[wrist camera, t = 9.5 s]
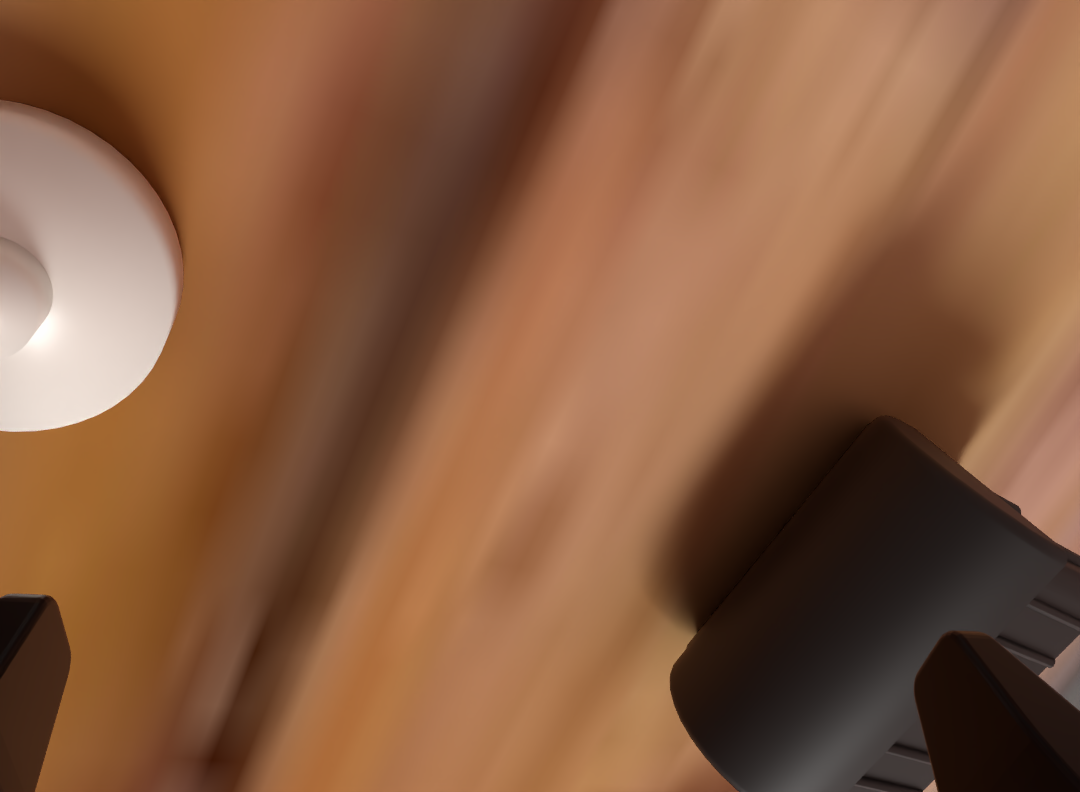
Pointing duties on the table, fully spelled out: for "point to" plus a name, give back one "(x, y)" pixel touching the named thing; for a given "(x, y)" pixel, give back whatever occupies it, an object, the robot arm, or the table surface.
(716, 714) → the end cap
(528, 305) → the table surface
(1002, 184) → the table surface
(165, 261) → the reel lid
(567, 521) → the table surface
